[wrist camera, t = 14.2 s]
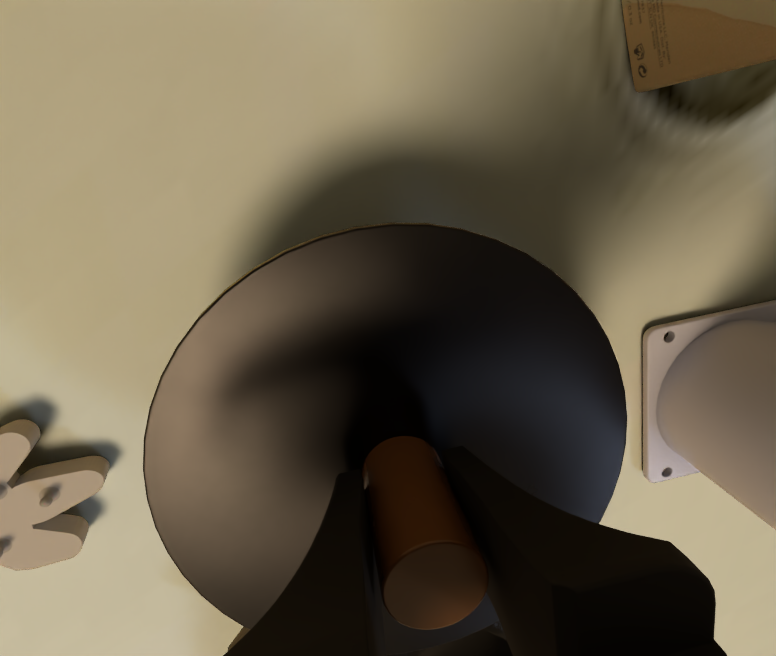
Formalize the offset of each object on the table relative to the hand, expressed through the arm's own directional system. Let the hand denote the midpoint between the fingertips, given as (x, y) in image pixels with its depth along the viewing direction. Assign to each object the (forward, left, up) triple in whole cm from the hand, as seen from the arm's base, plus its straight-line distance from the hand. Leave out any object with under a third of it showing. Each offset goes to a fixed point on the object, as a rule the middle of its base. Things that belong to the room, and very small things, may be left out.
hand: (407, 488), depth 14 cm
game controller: (+17, +1, -8) cm, 19 cm away
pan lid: (0, 0, -1) cm, 1 cm away
